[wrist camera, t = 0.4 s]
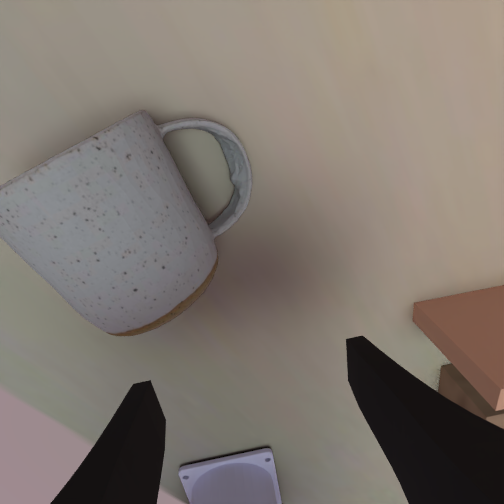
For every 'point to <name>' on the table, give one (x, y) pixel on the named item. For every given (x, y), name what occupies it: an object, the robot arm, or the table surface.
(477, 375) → the picture frame
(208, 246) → the ceramic mug
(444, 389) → the bronze rectangular prism
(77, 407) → the table surface
